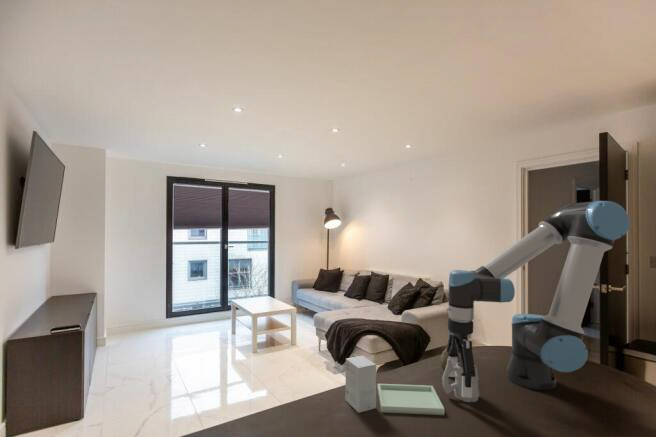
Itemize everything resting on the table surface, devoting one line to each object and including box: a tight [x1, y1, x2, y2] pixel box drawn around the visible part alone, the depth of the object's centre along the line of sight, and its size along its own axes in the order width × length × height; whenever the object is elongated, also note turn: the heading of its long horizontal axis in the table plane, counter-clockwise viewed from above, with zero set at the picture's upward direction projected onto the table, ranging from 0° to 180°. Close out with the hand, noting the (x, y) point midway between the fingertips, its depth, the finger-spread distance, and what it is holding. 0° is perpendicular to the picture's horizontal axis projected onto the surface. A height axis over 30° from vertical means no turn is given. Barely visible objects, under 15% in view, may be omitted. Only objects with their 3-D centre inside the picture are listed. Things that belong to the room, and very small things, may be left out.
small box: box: [344, 355, 377, 414], centre depth 103 cm, size 8×6×13 cm
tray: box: [376, 383, 446, 416], centre depth 105 cm, size 18×14×2 cm
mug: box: [441, 359, 480, 403], centre depth 108 cm, size 8×12×12 cm, turn 95°
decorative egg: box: [440, 347, 461, 371], centre depth 125 cm, size 7×7×10 cm
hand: (459, 386), depth 108 cm, fingers open, 13 cm apart
